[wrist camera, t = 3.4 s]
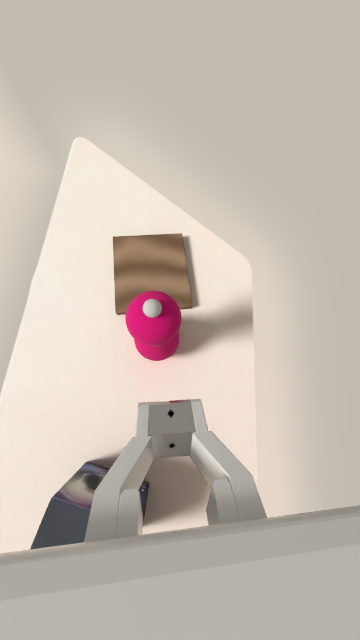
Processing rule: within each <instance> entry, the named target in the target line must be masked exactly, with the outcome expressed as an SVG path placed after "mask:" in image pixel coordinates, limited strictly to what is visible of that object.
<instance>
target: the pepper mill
mask: <svg viewBox="0 0 360 640" xmlns="http://www.w3.org/2000/svg"><path fill="white" fill-rule="evenodd" d="M126 325H127V328H128V331H129V332H130V334H131V335H132V336H133V338H134V341H135V345H136V348H137V350H138V351H139V353H140V354H141V355H142V356H143V357H145V358H147V359H149V360H154V361H160V360H164V359H166V358H168V357H170V356H171V355H172V354H173V353H174V352H175V351H176V349H177V347H178V344H179V333H178V330H179V328H180V325H181V312H180V309H179V306H178V304H177V303H176V301H175V300H174V299H173V298H172V297H171V296H169V295H167V294H166V293H163V292H160V291H146V292H143V293H141V294H139V295H138V296H136V297H135V298H134V299H133V300H132V301H131V303H130V304H129V306H128V308H127V312H126Z"/></svg>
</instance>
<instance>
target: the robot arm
mask: <svg viewBox="0 0 360 640" xmlns="http://www.w3.org/2000/svg"><path fill="white" fill-rule="evenodd" d="M175 456H190V458H191V459H192V461H193V462H194V464H195V465H196V467H197V468H198V470H199V471H200V473H201V474H202V476H203V477H204V479H205V480H206V482H207V483H208V485H209V486H210V488H211V489H212V490H211V493H210V497H209V501H208V505H207V508H206V512H207V518H208V524H209V526H203V527H196V528H188V529H181V530H173V531H166V532H158V533H151V534H143V535H142V533H143V515H142V507H141V500H140V492H139V491H138V490H139V488H140V486H141V484H142V482H143V480H144V478H145V476H146V474H147V472H148V470H149V468H150V466H151V464H152V462H153V459H157V458H165V457H175ZM0 640H360V506H352V507H345V508H337V509H331V510H322V511H316V512H308V513H300V514H293V515H285V516H278V517H270V518H267V516H266V513H265V511H264V508H263V505H262V502H261V499H260V496H259V493H258V491H257V488H256V485H255V482H254V479H253V476H252V474H251V473H250V472H249V471H248V470H247V469H246V468H245V467H244V466H243V465H242V464H241V462H240V461H239V460H238V459H237V458H236V457H235V456H234V455H233V454H232V453H231V452H230V451H229V450H228V448H227V447H226V446H225V445H224V444H223V443H222V442H221V441H220V440H219V439H218V438H217V437H216V435H215V434H214V433H213V432H212V431H208V428H207V424H206V419H205V415H204V411H203V407H202V402H201V400H200V399H193V400H189V399H188V400H176V401H168V402H144V403H138V409H137V422H136V434H135V437H132V438H131V440H130V441H129V442H128V444H127V445H126V447H125V448H124V450H123V451H122V453H121V454H120V455H119V457H118V458H117V460H116V461H115V463H114V464H113V466H112V467H111V468H110V470H109V471H108V473H107V474H106V476H105V477H104V479H103V480H102V481H101V483H100V484H99V486H98V487H97V489H96V490H95V492H94V496H93V501H92V506H91V511H90V516H89V520H88V525H87V530H86V535H85V539H84V542H83V543H76V544H69V545H61V546H54V547H46V548H39V549H31V550H24V551H16V552H9V553H1V554H0Z"/></svg>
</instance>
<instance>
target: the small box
mask: <svg viewBox="0 0 360 640" xmlns="http://www.w3.org/2000/svg"><path fill="white" fill-rule="evenodd" d="M109 470H110V469H107V468H104V467H101V466H98V465H95V464H92V463H89V462H86V463H85V464H84V465H83V466H82V467H81V468H80V469H79V470H78V471H77V472H76V473H75V474H74V476H73V477H72V478H71V479H70V480H69V481H68V482H67V483H66V484H65V485H64V486H63V487H62V488H61V489H60V490H59V491H58V492H57V493H56V494H55V495H54V496H53V497H52V498H51V500H50V502H49V505H48V507H47V509H46V512H45V514H44V517H43V519H42V521H41V524H40V526H39V529H38V531H37V534H36V536H35V539H34V541H33V544H32V546H31V549H39V548H46V547H54V546H61V545H69V544H76V543H83V542H84V539H85V535H86V530H87V525H88V520H89V516H90V511H91V506H92V501H93V496H94V492H95V490H96V489H97V487H98V486H99V484H100V483H101V481H102V480H103V479H104V477H105V476H106V474H107V473H108V471H109ZM148 488H149V483H148V482H145V481H143V482H142V484H141V486H140V488H139V490H138V491H139V492H140V500H141V507H142V515H143V520H144V514H145V507H146V500H147V494H148ZM31 549H30V550H31Z"/></svg>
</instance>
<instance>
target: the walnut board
mask: <svg viewBox="0 0 360 640" xmlns="http://www.w3.org/2000/svg"><path fill="white" fill-rule="evenodd" d="M113 252H114V280H115V308H116V314H117V315H121V314H126V312H127V308H128V306H129V304H130V303H131V301H132V300H133V299H134V298H135V297H136V296H138V295H139V294H141V293H143V292H146V291H160V292H163V293H166V294H167V295H169V296H171V297H172V298H173V299H174V300H175V301H176V303H177V304H178V306H179V309H190V308H192V301H191V294H190V287H189V280H188V273H187V266H186V258H185V251H184V244H183V237H182V234H161V235H140V236H119V237H113Z"/></svg>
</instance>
